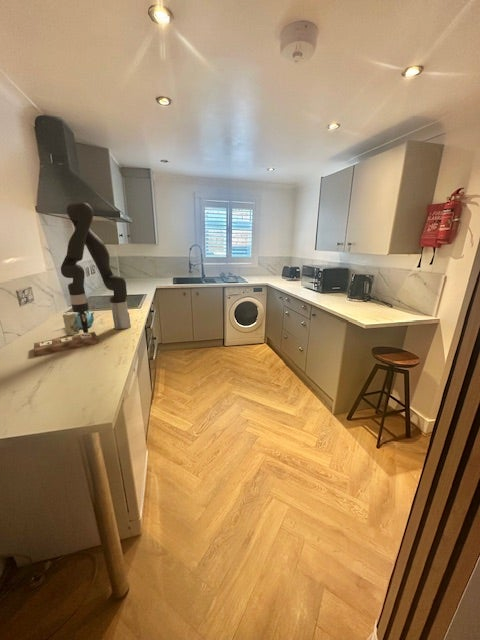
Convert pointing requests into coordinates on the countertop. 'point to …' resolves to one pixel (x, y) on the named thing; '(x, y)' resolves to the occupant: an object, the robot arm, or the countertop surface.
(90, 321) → the teapot
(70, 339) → the button one
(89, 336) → the button three
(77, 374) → the countertop surface
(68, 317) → the box
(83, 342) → the button panel
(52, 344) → the button two
